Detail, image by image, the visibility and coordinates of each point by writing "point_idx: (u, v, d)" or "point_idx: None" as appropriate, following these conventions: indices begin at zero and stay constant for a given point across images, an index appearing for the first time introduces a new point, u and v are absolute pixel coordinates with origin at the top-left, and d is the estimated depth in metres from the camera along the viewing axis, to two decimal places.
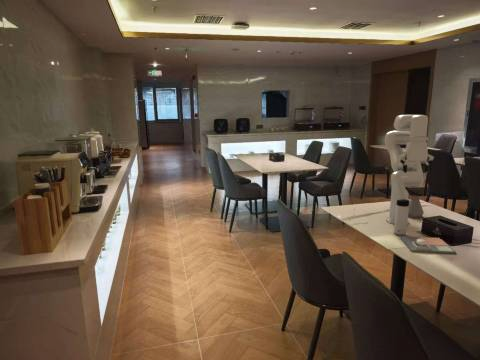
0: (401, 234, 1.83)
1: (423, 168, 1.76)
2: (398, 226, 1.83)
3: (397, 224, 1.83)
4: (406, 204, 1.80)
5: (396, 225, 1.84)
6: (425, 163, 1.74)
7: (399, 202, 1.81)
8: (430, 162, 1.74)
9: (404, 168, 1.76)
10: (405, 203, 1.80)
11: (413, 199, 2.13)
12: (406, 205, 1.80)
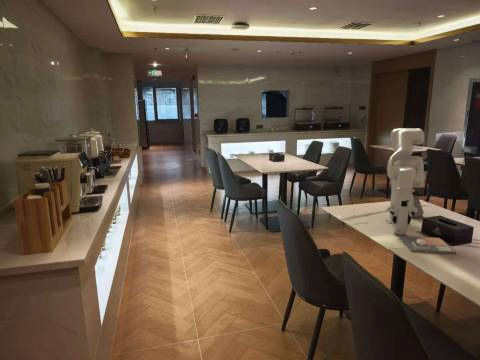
0: (401, 234, 1.83)
1: None
2: (398, 226, 1.83)
3: (397, 224, 1.83)
4: (406, 204, 1.80)
5: (396, 225, 1.84)
6: (409, 214, 1.82)
7: None
8: (413, 214, 1.82)
9: (393, 219, 1.84)
10: (405, 203, 1.80)
11: (413, 199, 2.13)
12: (406, 205, 1.80)
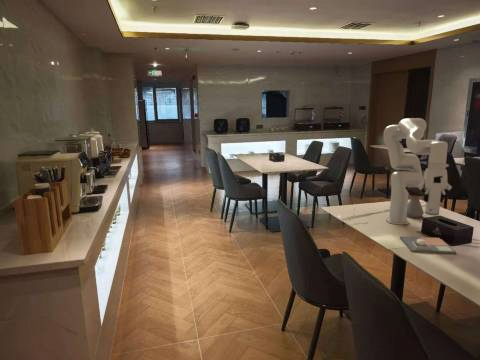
0: (433, 213, 1.68)
1: None
2: (430, 205, 1.68)
3: (429, 203, 1.69)
4: (439, 180, 1.65)
5: (428, 204, 1.69)
6: (442, 192, 1.67)
7: None
8: (447, 191, 1.67)
9: (425, 197, 1.70)
10: (438, 179, 1.65)
11: (413, 199, 2.13)
12: (439, 181, 1.65)
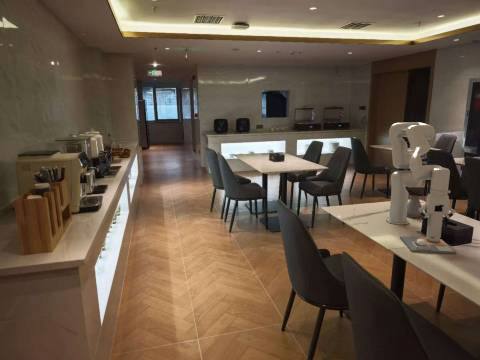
0: (435, 241, 1.70)
1: (444, 221, 1.71)
2: (431, 232, 1.70)
3: (431, 230, 1.70)
4: (441, 209, 1.67)
5: (429, 231, 1.71)
6: (446, 217, 1.68)
7: None
8: (451, 216, 1.68)
9: (424, 221, 1.71)
10: (440, 208, 1.66)
11: (413, 199, 2.13)
12: (441, 210, 1.67)
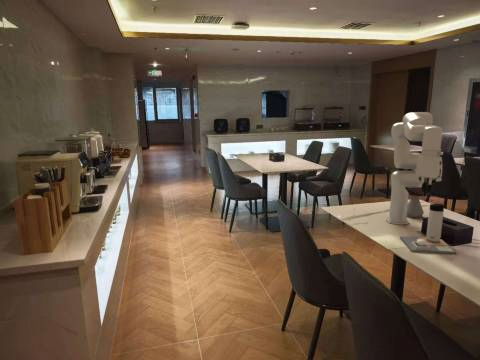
0: (435, 241, 1.70)
1: None
2: (432, 232, 1.70)
3: (431, 230, 1.70)
4: (441, 209, 1.67)
5: (429, 231, 1.71)
6: (429, 181, 1.57)
7: (433, 207, 1.68)
8: (434, 182, 1.56)
9: (422, 187, 1.61)
10: (440, 208, 1.67)
11: (413, 199, 2.13)
12: (441, 210, 1.67)
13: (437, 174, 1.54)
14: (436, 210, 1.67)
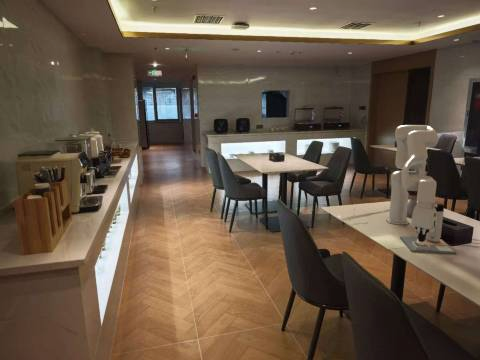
0: (435, 241, 1.70)
1: None
2: (432, 232, 1.70)
3: None
4: (441, 209, 1.67)
5: None
6: (422, 230, 1.63)
7: None
8: (427, 232, 1.61)
9: (418, 236, 1.65)
10: (440, 208, 1.67)
11: (413, 199, 2.13)
12: (441, 210, 1.67)
13: (431, 225, 1.59)
14: (436, 210, 1.67)
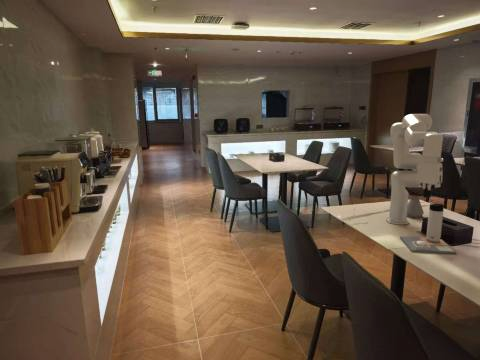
0: (435, 241, 1.70)
1: None
2: (431, 232, 1.70)
3: (431, 230, 1.70)
4: (441, 209, 1.67)
5: (429, 231, 1.71)
6: (428, 186, 1.61)
7: (433, 207, 1.68)
8: (432, 187, 1.59)
9: (424, 192, 1.63)
10: (440, 208, 1.67)
11: (413, 199, 2.13)
12: (441, 210, 1.67)
13: (437, 180, 1.56)
14: (436, 210, 1.67)
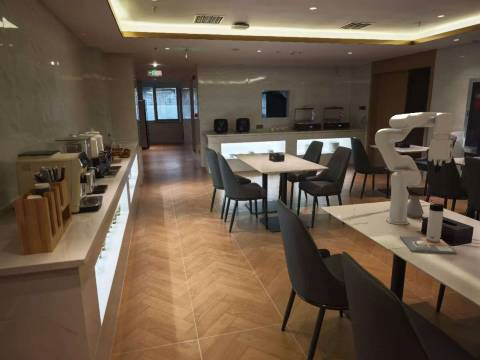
0: (435, 241, 1.70)
1: None
2: (431, 232, 1.70)
3: (431, 230, 1.70)
4: (441, 209, 1.67)
5: (429, 231, 1.71)
6: (439, 162, 1.72)
7: (433, 207, 1.68)
8: (443, 163, 1.71)
9: (435, 168, 1.75)
10: (440, 208, 1.67)
11: (413, 199, 2.13)
12: (441, 210, 1.67)
13: (448, 156, 1.68)
14: (436, 210, 1.67)
